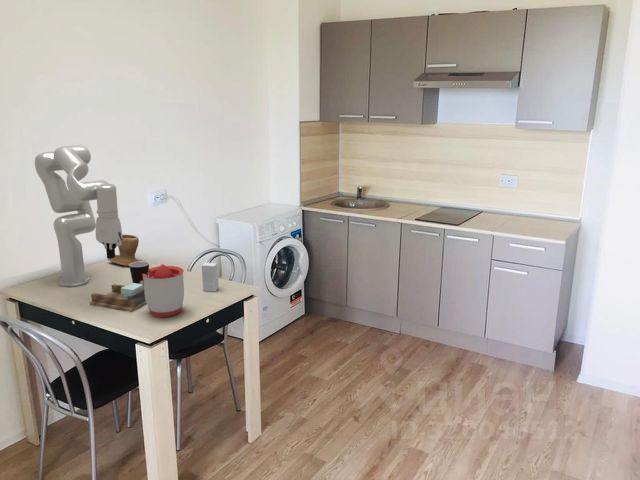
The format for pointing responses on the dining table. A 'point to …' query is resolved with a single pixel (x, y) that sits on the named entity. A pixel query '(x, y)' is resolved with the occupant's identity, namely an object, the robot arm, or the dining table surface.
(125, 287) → the block
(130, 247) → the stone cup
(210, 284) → the skincare box
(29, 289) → the dining table surface
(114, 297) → the rail board
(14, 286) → the dining table surface
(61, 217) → the robot arm
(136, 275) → the coffee mug
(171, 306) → the citrus juicer
